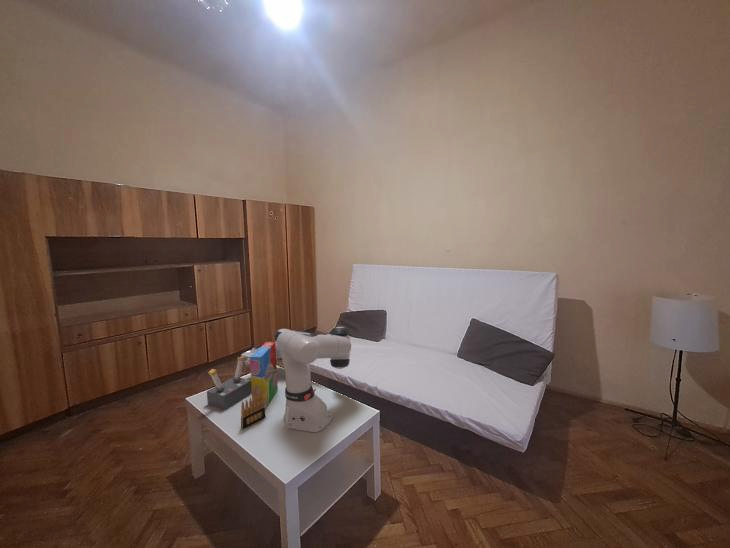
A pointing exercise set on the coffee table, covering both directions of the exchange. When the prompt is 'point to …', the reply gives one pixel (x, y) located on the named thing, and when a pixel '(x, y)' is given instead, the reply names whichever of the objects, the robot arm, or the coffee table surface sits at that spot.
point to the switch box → (229, 393)
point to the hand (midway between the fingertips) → (246, 363)
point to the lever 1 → (216, 380)
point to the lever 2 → (238, 369)
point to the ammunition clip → (252, 412)
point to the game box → (264, 372)
